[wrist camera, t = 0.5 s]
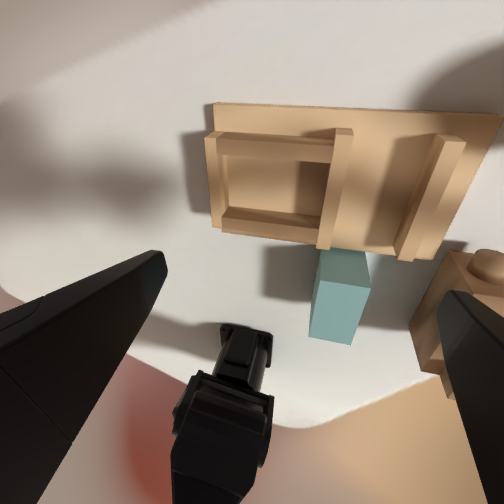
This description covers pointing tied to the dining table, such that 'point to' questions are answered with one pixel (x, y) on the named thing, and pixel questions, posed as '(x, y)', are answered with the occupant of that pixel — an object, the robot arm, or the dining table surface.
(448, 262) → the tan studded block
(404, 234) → the jig
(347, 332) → the teal block
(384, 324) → the dining table surface
